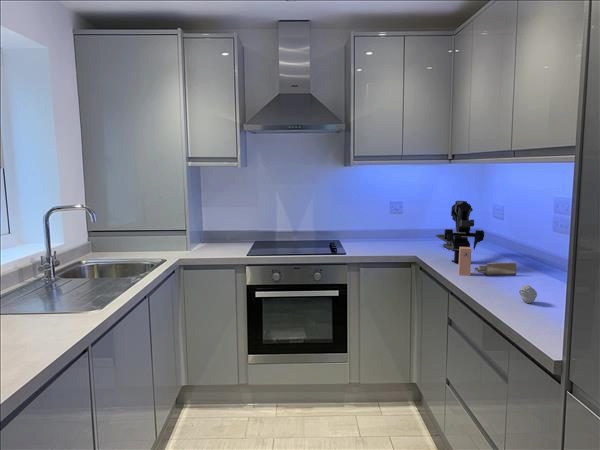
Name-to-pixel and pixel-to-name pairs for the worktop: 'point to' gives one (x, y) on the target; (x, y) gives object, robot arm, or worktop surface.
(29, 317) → the worktop surface
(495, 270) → the cleat board
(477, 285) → the worktop surface
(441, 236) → the zipper pull
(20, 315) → the worktop surface
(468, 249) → the cabinet block
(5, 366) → the worktop surface
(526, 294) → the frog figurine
